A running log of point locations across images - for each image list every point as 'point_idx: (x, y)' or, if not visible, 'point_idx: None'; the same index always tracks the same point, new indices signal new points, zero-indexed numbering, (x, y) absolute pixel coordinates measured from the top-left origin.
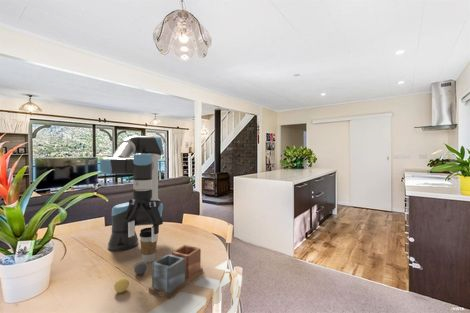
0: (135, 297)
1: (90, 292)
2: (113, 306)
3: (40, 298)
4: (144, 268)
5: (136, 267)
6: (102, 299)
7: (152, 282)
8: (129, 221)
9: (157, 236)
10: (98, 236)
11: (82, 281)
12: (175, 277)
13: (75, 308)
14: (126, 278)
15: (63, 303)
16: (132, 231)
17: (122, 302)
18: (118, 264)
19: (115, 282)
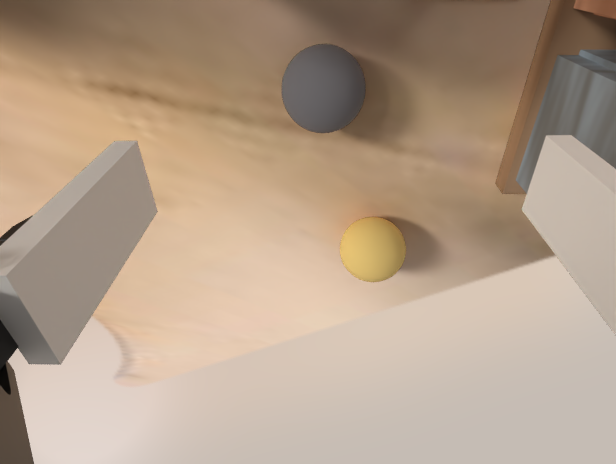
0: (460, 232)
1: (256, 278)
2: (416, 291)
3: (150, 347)
4: (364, 92)
5: (325, 132)
6: (342, 285)
7: (526, 191)
8: (10, 352)
9: (601, 164)
10: None
11: (138, 251)
12: None
13: (304, 334)
14: (389, 251)
15: (243, 336)
16: (119, 203)
17: (431, 269)
18: (79, 58)
19: (355, 276)
